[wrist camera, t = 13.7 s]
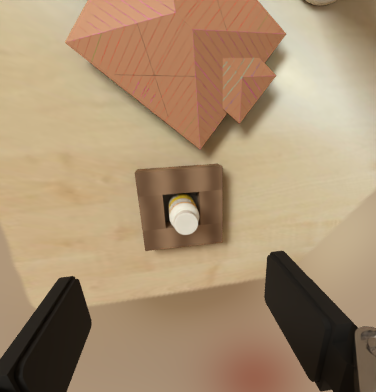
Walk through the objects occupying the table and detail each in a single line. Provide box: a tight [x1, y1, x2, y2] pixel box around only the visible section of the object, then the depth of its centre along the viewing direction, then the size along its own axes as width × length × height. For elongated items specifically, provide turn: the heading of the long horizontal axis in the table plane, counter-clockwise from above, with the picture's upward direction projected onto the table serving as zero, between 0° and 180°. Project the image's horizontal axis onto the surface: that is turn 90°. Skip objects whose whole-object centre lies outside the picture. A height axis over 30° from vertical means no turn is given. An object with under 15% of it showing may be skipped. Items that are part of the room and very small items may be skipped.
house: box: [65, 0, 286, 149], centre depth 30 cm, size 23×33×8 cm
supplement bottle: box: [169, 193, 199, 235], centre depth 37 cm, size 5×5×10 cm
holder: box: [135, 164, 223, 251], centre depth 40 cm, size 16×16×4 cm
